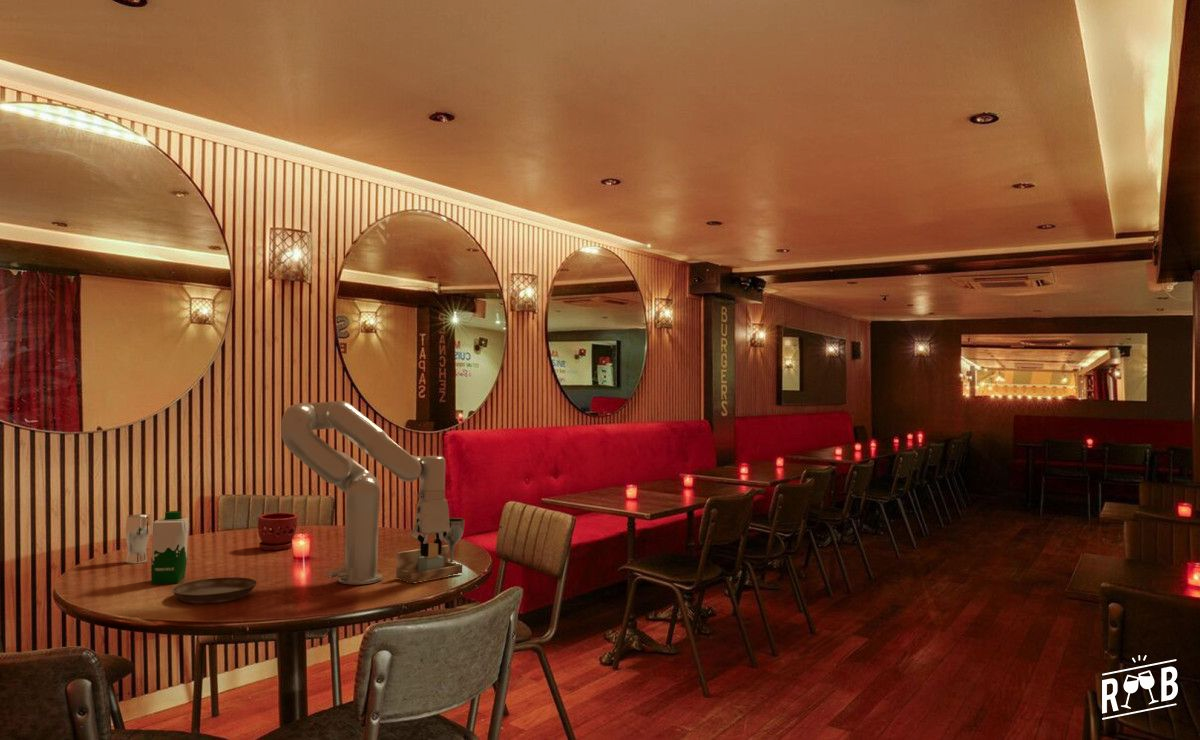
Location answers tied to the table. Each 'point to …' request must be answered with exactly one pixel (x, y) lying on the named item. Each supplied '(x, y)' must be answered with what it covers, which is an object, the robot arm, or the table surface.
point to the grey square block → (431, 559)
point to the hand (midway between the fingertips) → (431, 554)
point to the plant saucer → (214, 590)
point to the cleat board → (409, 571)
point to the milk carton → (169, 549)
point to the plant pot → (276, 530)
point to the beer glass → (137, 538)
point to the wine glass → (454, 534)
